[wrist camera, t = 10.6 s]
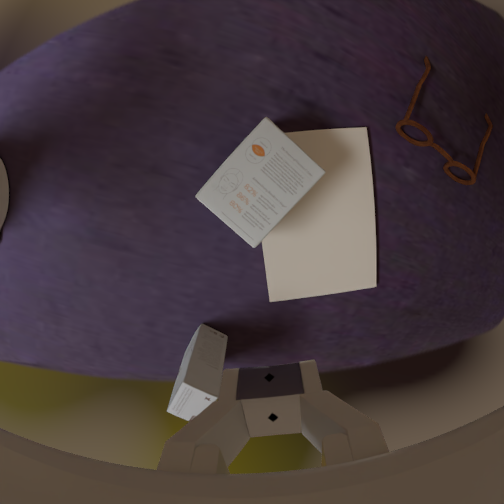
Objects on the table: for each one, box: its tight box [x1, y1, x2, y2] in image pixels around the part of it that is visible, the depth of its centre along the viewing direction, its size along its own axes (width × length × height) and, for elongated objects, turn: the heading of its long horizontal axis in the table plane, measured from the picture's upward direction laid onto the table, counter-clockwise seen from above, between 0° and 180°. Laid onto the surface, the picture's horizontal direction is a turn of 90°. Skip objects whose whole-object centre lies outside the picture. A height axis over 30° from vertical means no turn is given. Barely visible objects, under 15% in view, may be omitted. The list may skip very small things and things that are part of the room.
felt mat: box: [262, 127, 376, 302], centre depth 35 cm, size 14×20×1 cm
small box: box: [196, 117, 326, 248], centre depth 31 cm, size 8×6×10 cm
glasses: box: [396, 56, 493, 185], centre depth 29 cm, size 13×13×5 cm
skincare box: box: [167, 324, 228, 421], centre depth 35 cm, size 6×4×12 cm
